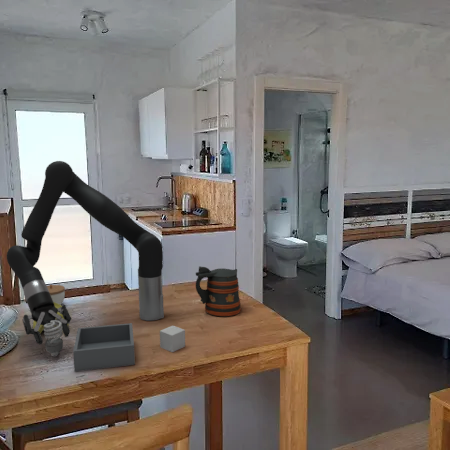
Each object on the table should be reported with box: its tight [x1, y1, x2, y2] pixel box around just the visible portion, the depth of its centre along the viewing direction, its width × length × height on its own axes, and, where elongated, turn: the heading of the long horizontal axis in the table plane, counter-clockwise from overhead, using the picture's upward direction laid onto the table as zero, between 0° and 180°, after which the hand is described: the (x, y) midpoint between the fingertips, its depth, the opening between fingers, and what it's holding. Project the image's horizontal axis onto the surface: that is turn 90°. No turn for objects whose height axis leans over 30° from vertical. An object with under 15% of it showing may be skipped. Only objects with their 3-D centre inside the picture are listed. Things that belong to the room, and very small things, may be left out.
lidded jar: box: [47, 284, 66, 306], centre depth 192 cm, size 11×11×9 cm
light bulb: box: [43, 320, 64, 357], centre depth 147 cm, size 6×6×12 cm
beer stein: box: [195, 266, 242, 317], centre depth 184 cm, size 19×15×20 cm
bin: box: [72, 322, 136, 372], centre depth 148 cm, size 18×18×6 cm
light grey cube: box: [159, 325, 186, 353], centre depth 154 cm, size 6×6×6 cm
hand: (54, 339), depth 146 cm, fingers open, 8 cm apart
